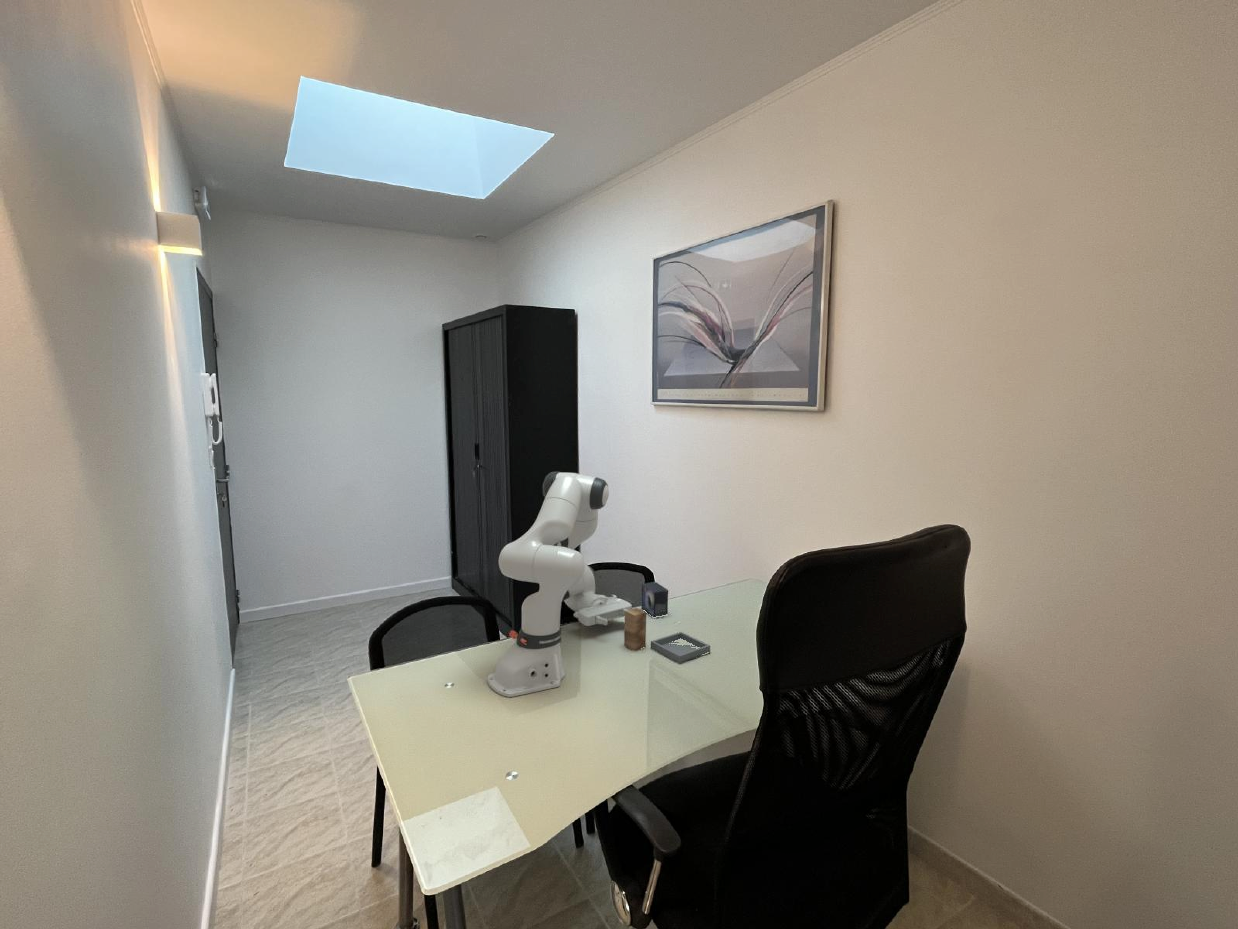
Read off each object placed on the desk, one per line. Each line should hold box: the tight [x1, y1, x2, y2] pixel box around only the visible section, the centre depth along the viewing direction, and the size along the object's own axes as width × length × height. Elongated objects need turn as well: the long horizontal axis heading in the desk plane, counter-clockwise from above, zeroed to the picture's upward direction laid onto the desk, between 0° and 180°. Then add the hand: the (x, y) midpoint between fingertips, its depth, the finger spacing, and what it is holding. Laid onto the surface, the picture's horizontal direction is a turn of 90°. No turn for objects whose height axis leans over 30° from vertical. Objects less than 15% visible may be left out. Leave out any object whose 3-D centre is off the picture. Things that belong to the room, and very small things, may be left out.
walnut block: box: [623, 607, 647, 652], centre depth 195 cm, size 5×5×12 cm
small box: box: [640, 581, 669, 617], centre depth 225 cm, size 11×6×10 cm, turn 25°
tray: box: [650, 631, 711, 665], centre depth 193 cm, size 14×14×2 cm
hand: (619, 619), depth 202 cm, fingers open, 8 cm apart
